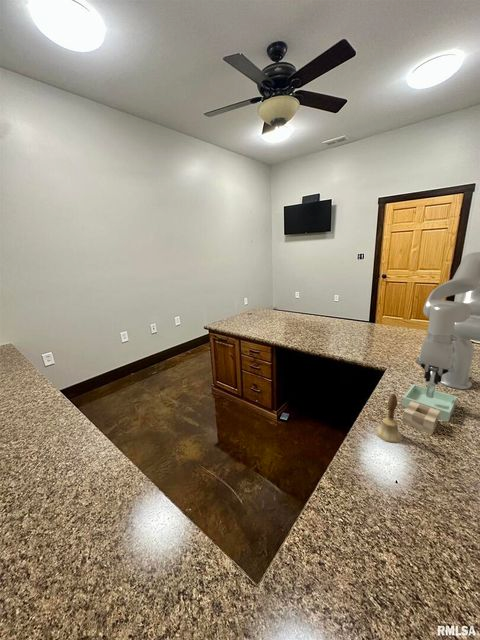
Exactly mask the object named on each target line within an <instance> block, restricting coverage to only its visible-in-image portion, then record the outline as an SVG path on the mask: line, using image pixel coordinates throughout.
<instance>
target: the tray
mask: <svg viewBox="0 0 480 640" xmlns="http://www.w3.org/2000/svg"><path fill="white" fill-rule="evenodd" d="M426 393H427V387H425V386H421V385H417V384H414V383H412V385H411V387H409V389H408V390H407V392H405V394H404V395H403V397H402V403H401V406H402V407H404V408H407V406H408V405H409V404H410V402H411V401H413V402H416V403H419V404H422V405H425V406H428V407H431V408H434V409H437V410H440V414H439V420H440V421H444V422H447V423H449V421H450V419H451V417H452V415H453V413H454V410H455V408H456V406H457V405H456V404H457V402H458V396H456V395H453V394H448V393H446V392H442V391H438V390H436V389H435V391H434V397H433V398H429V397H427V396H426Z"/></svg>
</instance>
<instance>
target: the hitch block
mask: <svg viewBox="0 0 480 640" xmlns="http://www.w3.org/2000/svg"><path fill="white" fill-rule="evenodd" d="M439 414H440V410H437V409H434V408H431V407H428V406H425V405H422V404H419V403H416V402H413V401H411V402H410V404H409V405H408V406H407V407H405V409H404V411H403V414H402V423H401V424H403V425H405V426H409V427H410V428H414V429H416V430H419V431H421V432H424V433H426V434H428V435H433V434H434V431H435V429H436V427H437V426H438V423H439V420H440V419H439Z"/></svg>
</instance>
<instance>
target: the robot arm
mask: <svg viewBox="0 0 480 640" xmlns="http://www.w3.org/2000/svg"><path fill="white" fill-rule="evenodd" d="M456 295H457V296H458V295H461V297H460V299H459V300H460V301H452V300H446V299H445V298H447V297H452V296H456ZM422 311H423V312H422V313H423V315H424V316H425V317H426V318H429V319H428V327H427V334H426V337H425V338H424V339H423V342H422V343H421V344H422V345H421V347H420V351H419V352H420V353H419V357H418V358H417V359H416V360H415V364H417V365H418V366H420V367H421V368H422V369H423V371H424V379H425V382H427V383H428V381H429V374H430V369H429V365H430V366H435V367H439V370H438V373H437V375H436V379H435V384H436V385H438V384H439V383H440V384H441V385H443V386H447V387H449V388H451V389H456V390H457V389H458V390H468V389H471V388H472V385H473V383H472V382H471V381H470V380H469V379H470V378H469V377H470V373H471V366H472V363H473V356H474V354H475V353H474V352H475V348H474V345H473V344H472V341H475V342H480V251H476V252H475V251H474V252H470V253H467V254H466V255H465V256H464V257H463V258H462V260H461V262H460V264H459V266H458V267H457V269H456V271H455V273H454V275H453V276H452V279H450V280H448V281H446V282H444V283H441V284H440V285H438V286H437V287H436V288H434V289H433V290H432V291H431V292H430V293H429V295H428V297H427V299H426V300H425V302H424V306H423V309H422Z"/></svg>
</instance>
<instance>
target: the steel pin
mask: <svg viewBox="0 0 480 640" xmlns="http://www.w3.org/2000/svg"><path fill="white" fill-rule="evenodd" d="M429 369H430V374H429V381H428V382H427V387H426V388H427V393H426V396H427V397H429V398H433V397H434V391H435V390H436V385H437V384H435V379H436V375H437V373H438V370H439V367H435V366H430V365H429Z"/></svg>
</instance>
